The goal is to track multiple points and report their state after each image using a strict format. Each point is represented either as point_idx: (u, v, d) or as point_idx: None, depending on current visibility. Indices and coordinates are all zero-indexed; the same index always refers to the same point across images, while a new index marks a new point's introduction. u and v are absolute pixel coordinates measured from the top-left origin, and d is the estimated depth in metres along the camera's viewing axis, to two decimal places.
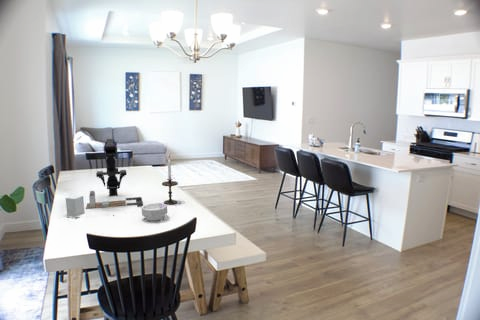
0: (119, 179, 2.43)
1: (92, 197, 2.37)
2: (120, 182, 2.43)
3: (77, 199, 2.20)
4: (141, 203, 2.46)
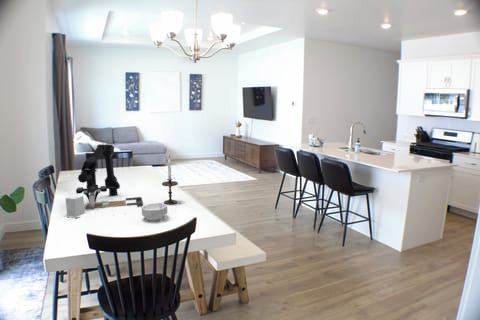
0: (95, 195, 2.42)
1: (92, 197, 2.37)
2: (96, 198, 2.42)
3: (77, 199, 2.20)
4: (141, 203, 2.46)
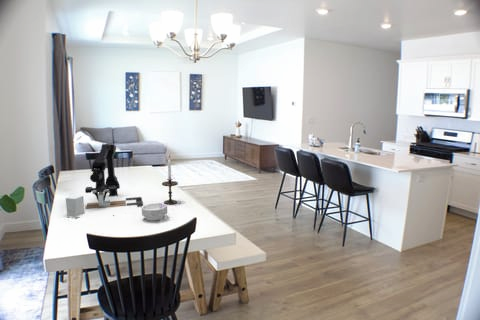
0: (104, 195, 2.44)
1: (101, 196, 2.39)
2: (104, 198, 2.43)
3: (77, 199, 2.20)
4: (141, 203, 2.46)
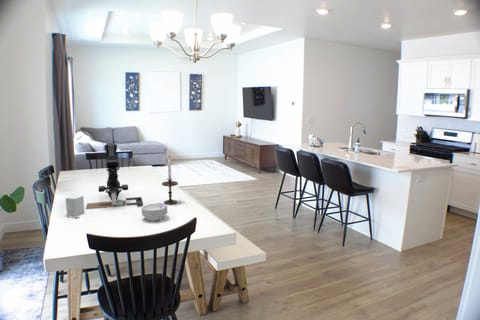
0: (116, 194, 2.46)
1: (114, 195, 2.41)
2: (117, 197, 2.46)
3: (77, 199, 2.20)
4: (141, 203, 2.46)
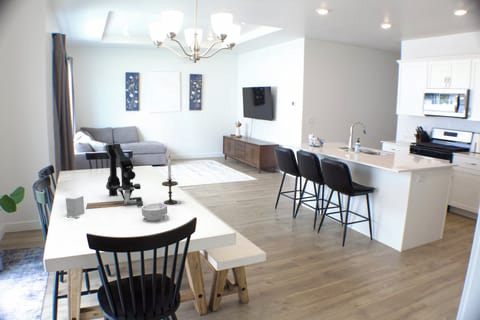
0: None
1: (128, 194, 2.44)
2: (130, 196, 2.49)
3: (77, 199, 2.20)
4: (141, 203, 2.46)
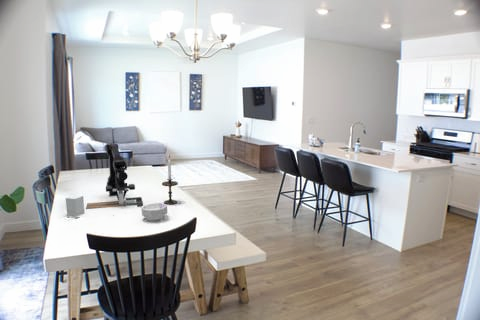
0: None
1: (121, 195, 2.43)
2: (124, 196, 2.48)
3: (77, 199, 2.20)
4: (141, 203, 2.46)
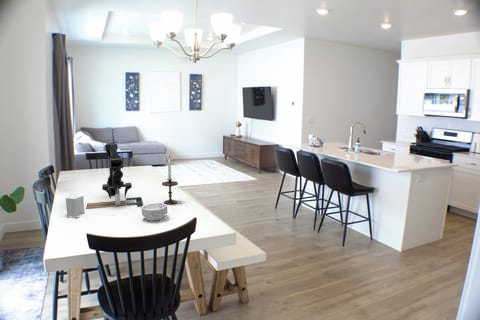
0: None
1: (118, 195, 2.42)
2: (125, 195, 2.47)
3: (77, 199, 2.20)
4: (141, 203, 2.46)
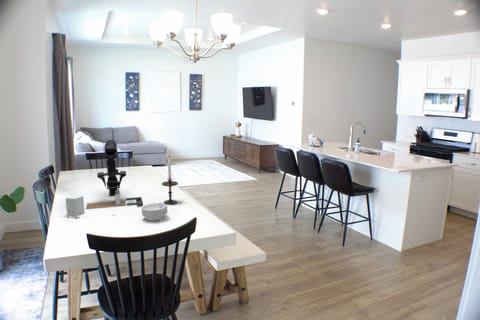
0: (119, 180, 2.53)
1: (118, 195, 2.42)
2: (120, 182, 2.53)
3: (77, 199, 2.20)
4: (141, 203, 2.46)
